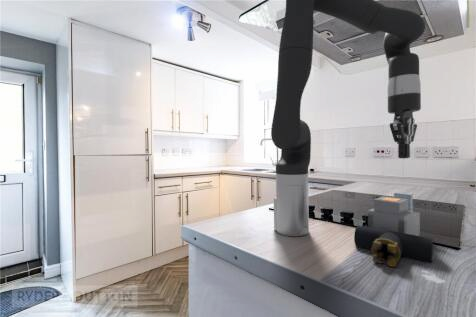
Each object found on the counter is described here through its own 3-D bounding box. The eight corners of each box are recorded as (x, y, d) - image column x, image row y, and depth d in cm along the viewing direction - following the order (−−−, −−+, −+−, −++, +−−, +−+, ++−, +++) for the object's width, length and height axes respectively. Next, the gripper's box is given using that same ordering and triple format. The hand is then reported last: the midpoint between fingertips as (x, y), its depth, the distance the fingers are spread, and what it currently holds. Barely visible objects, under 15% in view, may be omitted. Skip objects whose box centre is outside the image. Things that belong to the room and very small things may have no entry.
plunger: (380, 210, 64) (380, 199, 64) (385, 207, 67) (385, 197, 67) (395, 212, 62) (395, 201, 62) (401, 210, 64) (401, 199, 64)
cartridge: (374, 237, 66) (374, 197, 65) (392, 228, 73) (392, 191, 72) (401, 244, 61) (401, 200, 61) (416, 233, 68) (416, 194, 68)
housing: (368, 240, 66) (368, 199, 65) (385, 231, 73) (385, 193, 72) (403, 250, 59) (404, 204, 59) (419, 238, 66) (419, 197, 66)
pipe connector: (429, 250, 47) (345, 234, 56) (429, 278, 47) (345, 257, 57) (432, 234, 56) (359, 223, 65) (432, 258, 56) (359, 243, 65)
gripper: (410, 88, 61) (411, 159, 62) (428, 94, 70) (428, 157, 70) (378, 94, 67) (379, 159, 68) (397, 99, 75) (398, 157, 76)
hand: (404, 157), depth 69 cm, fingers closed
